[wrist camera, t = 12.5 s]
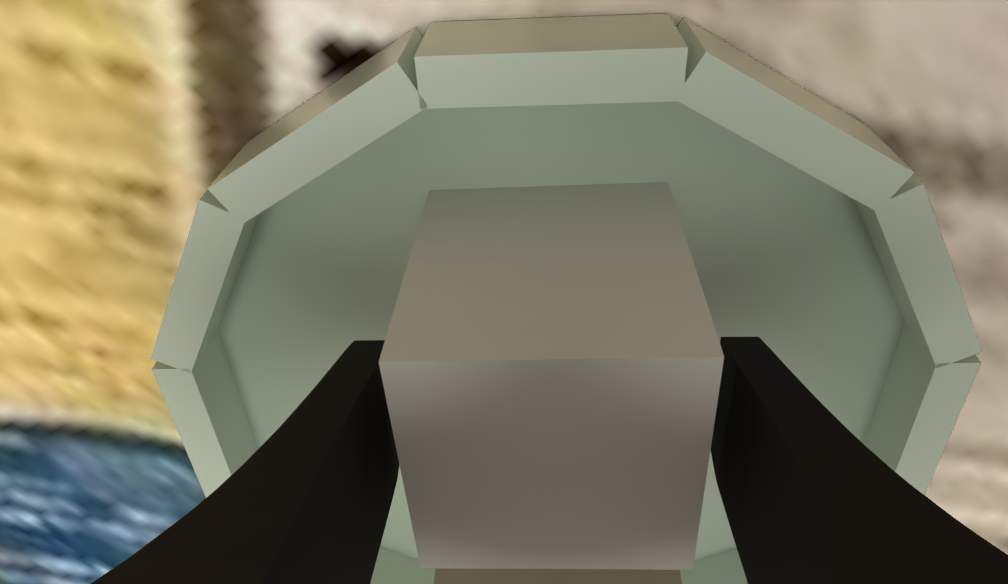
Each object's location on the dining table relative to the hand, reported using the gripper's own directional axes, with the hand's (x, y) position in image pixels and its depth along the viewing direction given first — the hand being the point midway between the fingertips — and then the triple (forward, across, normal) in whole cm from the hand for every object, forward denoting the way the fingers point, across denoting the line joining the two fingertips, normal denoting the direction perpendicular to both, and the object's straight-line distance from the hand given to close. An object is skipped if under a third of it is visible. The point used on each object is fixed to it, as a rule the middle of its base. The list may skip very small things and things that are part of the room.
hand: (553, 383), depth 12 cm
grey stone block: (+3, 0, 0) cm, 3 cm away
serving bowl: (+3, 0, +3) cm, 4 cm away
